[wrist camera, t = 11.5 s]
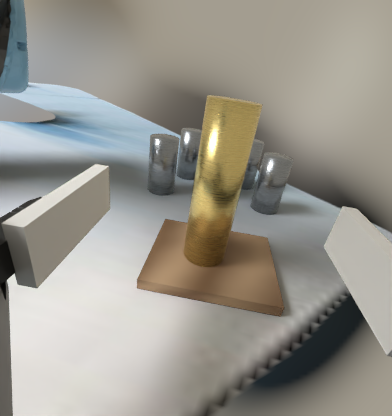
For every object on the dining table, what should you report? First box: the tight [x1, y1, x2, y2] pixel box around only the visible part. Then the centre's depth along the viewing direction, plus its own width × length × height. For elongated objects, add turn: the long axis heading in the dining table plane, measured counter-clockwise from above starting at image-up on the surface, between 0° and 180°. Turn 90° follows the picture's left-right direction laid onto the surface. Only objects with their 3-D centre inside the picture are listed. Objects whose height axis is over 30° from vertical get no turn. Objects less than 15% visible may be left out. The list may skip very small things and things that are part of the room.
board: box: [137, 219, 284, 317], centre depth 25 cm, size 12×10×1 cm
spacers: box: [148, 128, 294, 214], centre depth 40 cm, size 20×12×8 cm, turn 83°
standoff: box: [183, 95, 262, 267], centre depth 21 cm, size 4×4×14 cm
